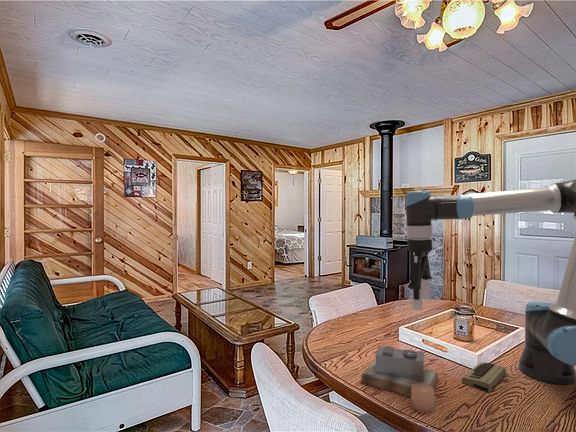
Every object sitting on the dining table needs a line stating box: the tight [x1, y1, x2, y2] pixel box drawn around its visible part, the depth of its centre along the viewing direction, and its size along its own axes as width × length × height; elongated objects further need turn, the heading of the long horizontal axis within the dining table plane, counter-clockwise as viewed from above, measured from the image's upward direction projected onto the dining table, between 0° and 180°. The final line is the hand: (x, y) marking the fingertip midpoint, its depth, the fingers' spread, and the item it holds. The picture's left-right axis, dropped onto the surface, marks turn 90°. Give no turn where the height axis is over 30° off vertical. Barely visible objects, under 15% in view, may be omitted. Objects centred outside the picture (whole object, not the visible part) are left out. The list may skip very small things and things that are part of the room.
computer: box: [461, 361, 507, 393], centre depth 110 cm, size 16×8×3 cm, turn 133°
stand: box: [360, 358, 439, 398], centre depth 109 cm, size 20×14×3 cm
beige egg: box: [410, 383, 435, 414], centre depth 96 cm, size 6×6×5 cm
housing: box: [375, 345, 425, 382], centre depth 109 cm, size 14×7×7 cm, turn 68°
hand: (421, 304), depth 112 cm, fingers open, 13 cm apart
